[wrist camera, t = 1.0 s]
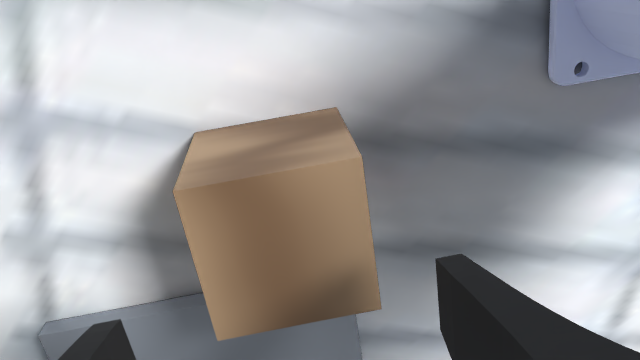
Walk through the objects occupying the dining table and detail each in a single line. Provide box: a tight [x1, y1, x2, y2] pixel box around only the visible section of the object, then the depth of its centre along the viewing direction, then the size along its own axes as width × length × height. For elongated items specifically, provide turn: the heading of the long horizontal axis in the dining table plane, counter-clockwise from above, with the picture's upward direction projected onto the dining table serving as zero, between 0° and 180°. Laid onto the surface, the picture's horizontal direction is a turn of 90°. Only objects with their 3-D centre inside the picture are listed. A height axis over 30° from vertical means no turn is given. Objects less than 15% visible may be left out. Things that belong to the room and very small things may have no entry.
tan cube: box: [173, 107, 381, 341], centre depth 17 cm, size 5×5×5 cm
